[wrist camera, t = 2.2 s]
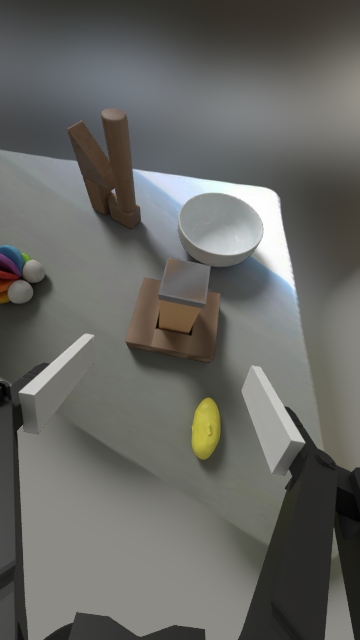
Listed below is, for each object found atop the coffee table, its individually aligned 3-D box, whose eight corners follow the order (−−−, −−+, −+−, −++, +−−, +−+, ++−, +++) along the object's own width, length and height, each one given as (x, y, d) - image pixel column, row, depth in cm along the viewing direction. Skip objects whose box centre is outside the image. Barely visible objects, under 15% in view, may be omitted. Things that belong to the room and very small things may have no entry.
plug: (157, 334, 34) (158, 294, 22) (163, 307, 37) (167, 256, 24) (187, 339, 35) (205, 304, 22) (191, 313, 37) (210, 266, 24)
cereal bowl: (213, 210, 49) (223, 181, 42) (262, 255, 45) (280, 230, 38) (159, 239, 43) (160, 210, 36) (210, 292, 39) (220, 270, 33)
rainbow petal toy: (-22, 300, 33) (-66, 275, 27) (11, 257, 37) (-21, 226, 30) (27, 313, 33) (-5, 291, 27) (54, 268, 37) (32, 240, 31)
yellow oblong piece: (183, 451, 28) (187, 458, 25) (196, 394, 31) (201, 393, 28) (211, 459, 28) (219, 468, 25) (221, 402, 31) (229, 402, 28)
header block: (128, 347, 33) (125, 341, 30) (145, 288, 38) (144, 277, 34) (208, 362, 34) (214, 358, 30) (215, 302, 38) (220, 293, 35)
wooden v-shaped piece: (102, 200, 45) (72, 86, 29) (141, 220, 44) (133, 114, 28) (92, 209, 44) (54, 94, 27) (132, 230, 43) (117, 124, 26)
